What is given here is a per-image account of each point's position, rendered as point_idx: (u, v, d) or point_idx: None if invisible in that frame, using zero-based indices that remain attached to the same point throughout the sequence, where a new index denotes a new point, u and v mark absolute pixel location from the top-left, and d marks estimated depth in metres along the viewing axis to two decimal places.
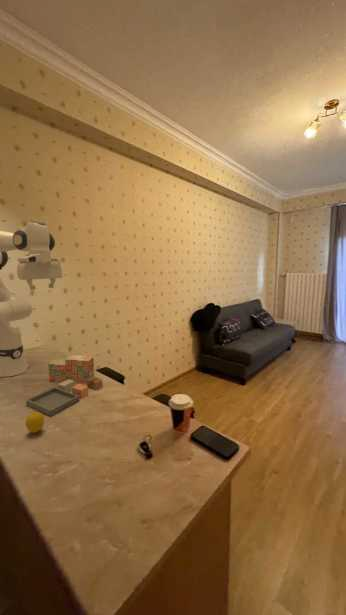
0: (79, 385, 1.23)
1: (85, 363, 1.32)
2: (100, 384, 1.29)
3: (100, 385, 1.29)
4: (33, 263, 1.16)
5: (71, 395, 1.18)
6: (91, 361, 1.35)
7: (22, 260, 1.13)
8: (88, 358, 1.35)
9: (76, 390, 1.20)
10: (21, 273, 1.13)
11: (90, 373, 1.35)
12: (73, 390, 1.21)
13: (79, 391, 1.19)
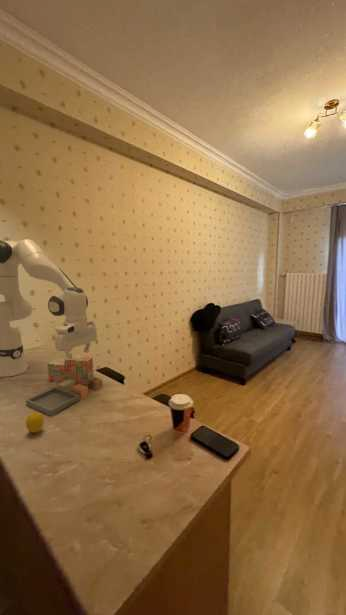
0: (79, 385, 1.23)
1: (84, 364, 1.31)
2: (100, 384, 1.29)
3: (100, 385, 1.29)
4: (71, 333, 1.11)
5: (71, 395, 1.18)
6: (90, 361, 1.34)
7: (61, 331, 1.09)
8: (87, 358, 1.34)
9: (76, 390, 1.20)
10: (60, 345, 1.08)
11: (89, 373, 1.34)
12: (73, 390, 1.21)
13: (79, 391, 1.19)
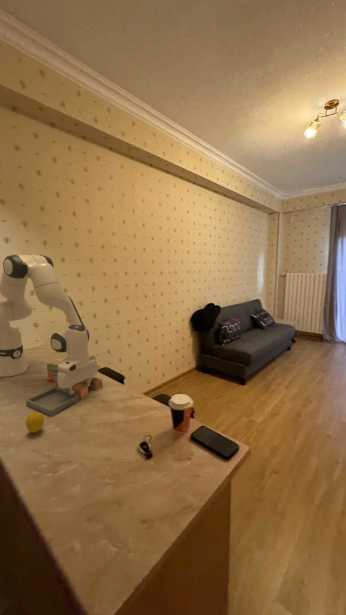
0: (79, 385, 1.23)
1: None
2: (100, 384, 1.29)
3: (100, 385, 1.29)
4: (73, 371, 1.14)
5: (71, 395, 1.18)
6: None
7: (63, 370, 1.11)
8: None
9: (76, 390, 1.20)
10: (62, 383, 1.11)
11: None
12: None
13: (79, 391, 1.19)
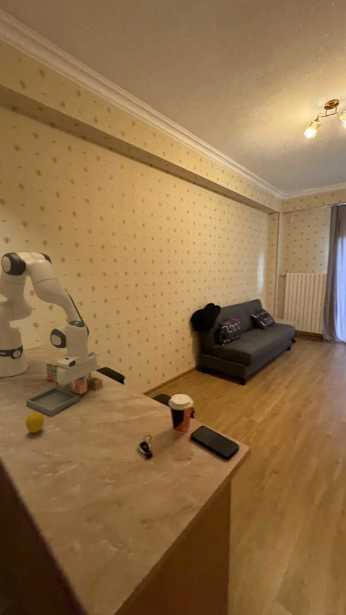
0: (78, 381, 1.23)
1: None
2: (100, 384, 1.29)
3: (100, 385, 1.29)
4: (73, 367, 1.14)
5: (71, 395, 1.18)
6: None
7: (62, 366, 1.11)
8: None
9: None
10: (61, 379, 1.11)
11: None
12: None
13: (78, 387, 1.19)
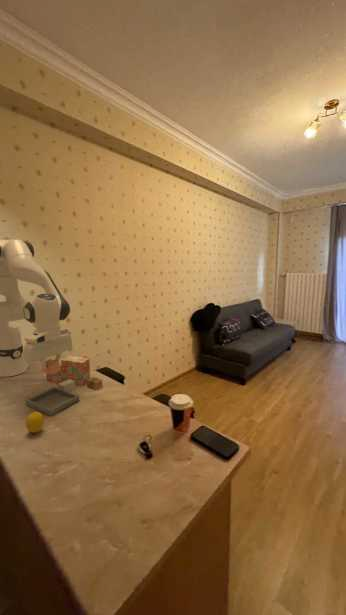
0: (50, 360, 1.13)
1: (79, 365, 1.30)
2: (100, 384, 1.29)
3: (100, 385, 1.29)
4: (42, 343, 1.04)
5: (71, 395, 1.18)
6: (86, 363, 1.32)
7: (30, 341, 1.02)
8: (83, 360, 1.32)
9: None
10: (28, 356, 1.01)
11: (85, 375, 1.32)
12: None
13: (49, 366, 1.09)
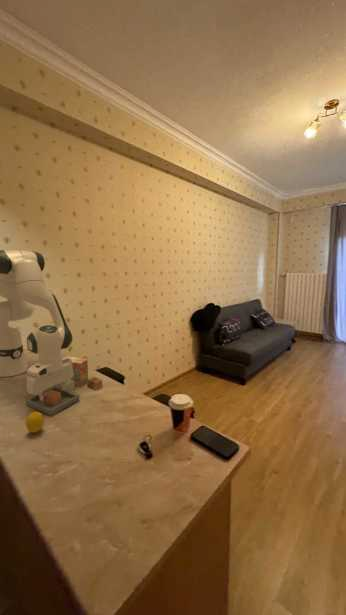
0: (52, 391, 1.15)
1: (77, 366, 1.29)
2: (100, 384, 1.29)
3: (100, 385, 1.29)
4: (44, 375, 1.06)
5: (71, 395, 1.18)
6: (84, 364, 1.31)
7: (32, 374, 1.04)
8: (81, 360, 1.31)
9: (48, 396, 1.12)
10: (31, 389, 1.04)
11: (83, 376, 1.31)
12: (45, 396, 1.13)
13: (51, 397, 1.11)
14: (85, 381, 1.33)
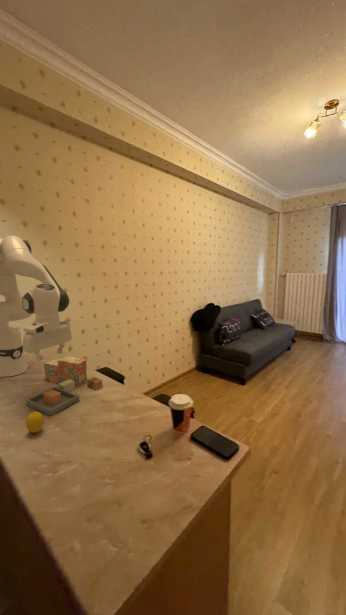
0: (52, 391, 1.15)
1: (75, 366, 1.28)
2: (100, 384, 1.29)
3: (100, 385, 1.29)
4: (41, 333, 1.03)
5: (71, 395, 1.18)
6: (82, 364, 1.31)
7: (28, 331, 1.01)
8: (80, 361, 1.31)
9: (48, 396, 1.12)
10: (27, 346, 1.01)
11: (81, 376, 1.31)
12: (45, 396, 1.13)
13: (51, 397, 1.11)
14: (84, 382, 1.33)
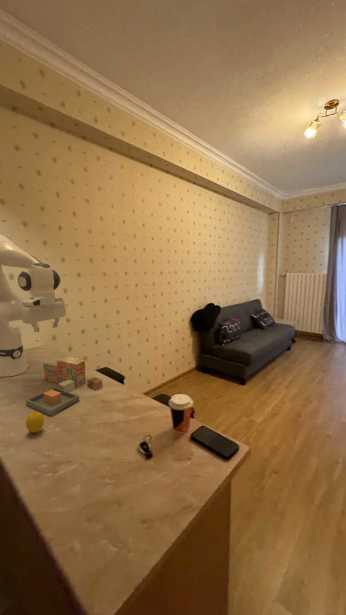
0: (52, 391, 1.15)
1: (73, 366, 1.28)
2: (100, 384, 1.29)
3: (100, 385, 1.29)
4: (37, 306, 1.15)
5: (71, 395, 1.18)
6: (81, 365, 1.30)
7: (26, 304, 1.13)
8: (78, 361, 1.30)
9: (48, 396, 1.12)
10: (25, 317, 1.12)
11: (80, 377, 1.30)
12: (45, 396, 1.13)
13: (51, 397, 1.11)
14: (82, 382, 1.32)
